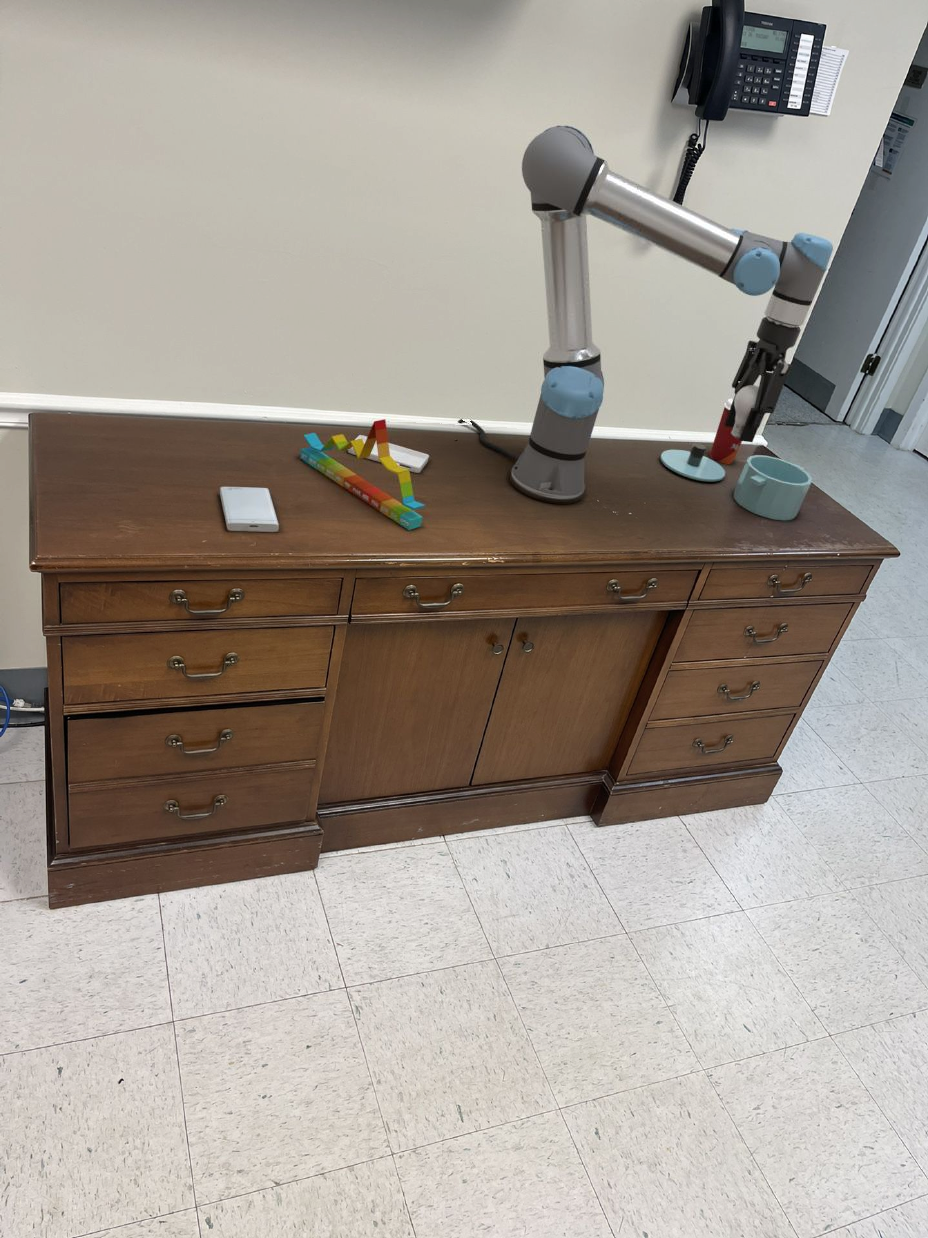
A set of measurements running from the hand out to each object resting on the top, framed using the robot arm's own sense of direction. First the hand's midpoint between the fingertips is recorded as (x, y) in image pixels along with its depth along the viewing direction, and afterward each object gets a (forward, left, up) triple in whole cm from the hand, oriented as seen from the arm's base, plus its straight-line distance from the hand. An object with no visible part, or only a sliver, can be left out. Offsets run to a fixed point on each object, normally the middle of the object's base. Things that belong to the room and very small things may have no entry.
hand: (737, 433), depth 187 cm
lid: (-14, +13, -16) cm, 25 cm away
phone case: (-42, -55, -17) cm, 71 cm away
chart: (-32, -70, -17) cm, 79 cm away
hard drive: (-32, -93, -17) cm, 100 cm away
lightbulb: (0, 0, -1) cm, 1 cm away
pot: (+5, +15, -17) cm, 23 cm away
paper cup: (-15, +27, -17) cm, 35 cm away
